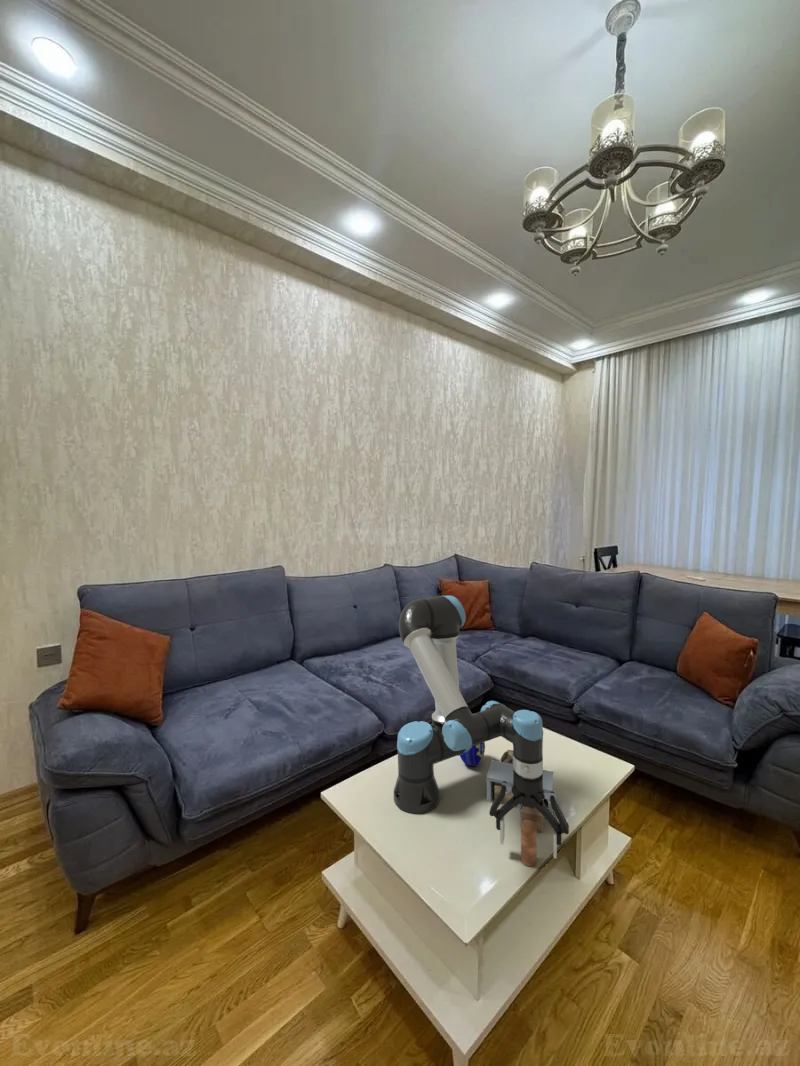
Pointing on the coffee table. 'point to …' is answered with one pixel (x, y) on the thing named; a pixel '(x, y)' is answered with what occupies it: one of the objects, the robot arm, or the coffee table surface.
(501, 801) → the robot arm
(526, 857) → the tethered block
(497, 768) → the cubby shelf
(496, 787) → the oak block
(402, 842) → the coffee table surface
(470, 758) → the ornament
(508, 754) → the stone
